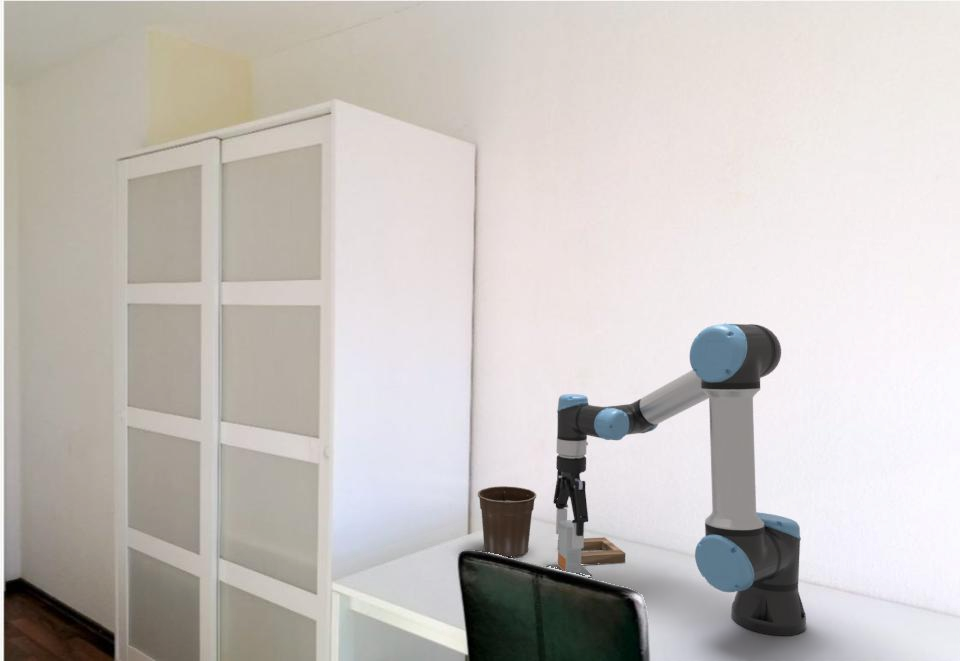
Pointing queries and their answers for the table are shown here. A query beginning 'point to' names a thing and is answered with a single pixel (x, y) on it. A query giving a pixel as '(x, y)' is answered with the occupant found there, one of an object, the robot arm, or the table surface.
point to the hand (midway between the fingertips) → (569, 540)
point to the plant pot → (506, 519)
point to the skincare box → (568, 549)
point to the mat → (576, 573)
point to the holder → (601, 552)
